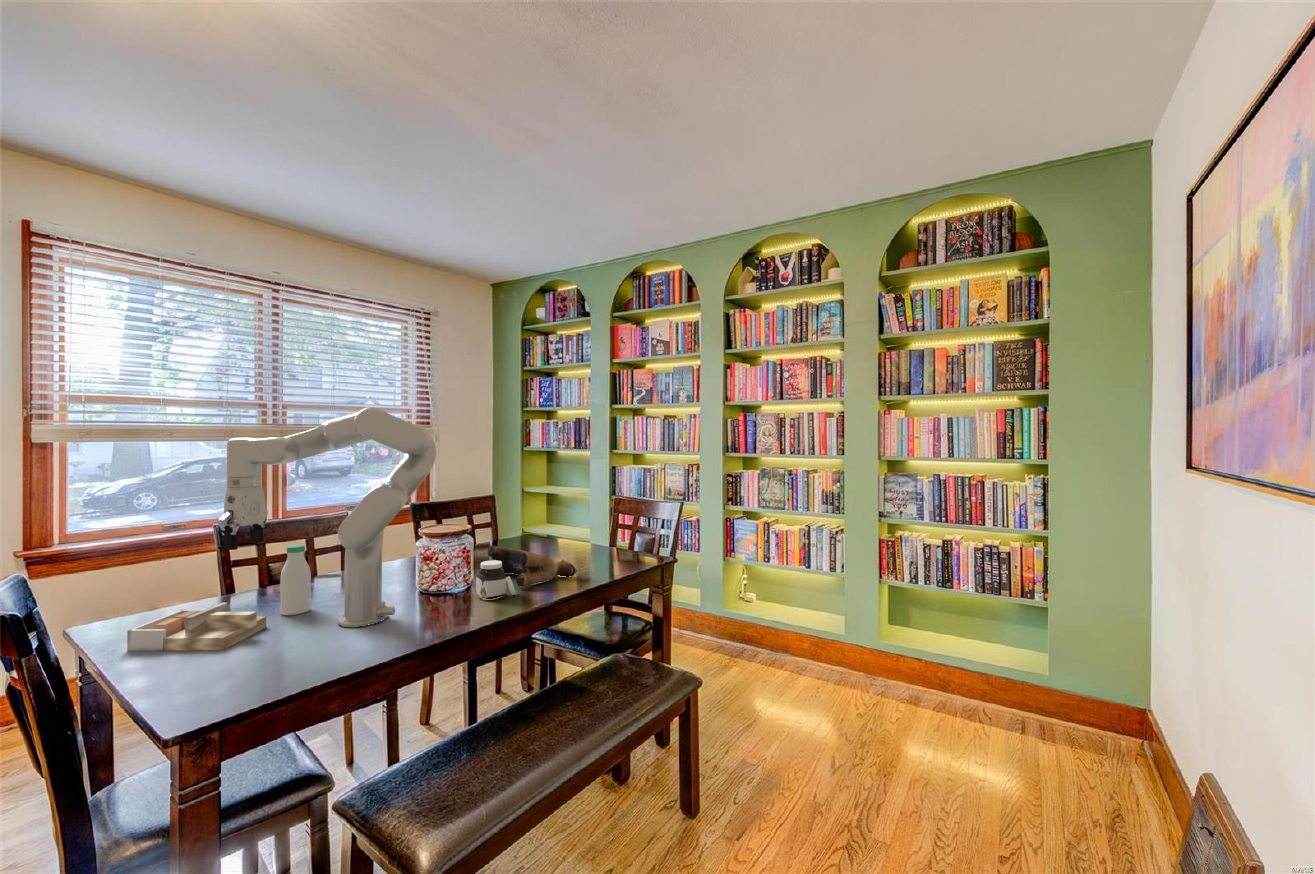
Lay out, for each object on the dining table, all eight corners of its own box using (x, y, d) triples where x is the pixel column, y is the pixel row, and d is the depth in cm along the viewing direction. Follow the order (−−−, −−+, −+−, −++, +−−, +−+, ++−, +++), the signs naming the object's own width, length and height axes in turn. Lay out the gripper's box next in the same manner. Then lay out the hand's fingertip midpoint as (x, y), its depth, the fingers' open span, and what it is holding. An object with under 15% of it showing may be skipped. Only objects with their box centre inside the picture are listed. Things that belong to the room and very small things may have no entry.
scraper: (268, 618, 148) (268, 602, 148) (236, 634, 136) (236, 617, 136) (221, 618, 148) (221, 602, 148) (185, 635, 136) (185, 617, 136)
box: (213, 627, 149) (213, 609, 149) (162, 650, 133) (163, 630, 133) (181, 627, 149) (181, 609, 149) (127, 650, 133) (127, 630, 133)
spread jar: (472, 597, 179) (472, 562, 179) (502, 589, 188) (502, 556, 188) (492, 604, 171) (492, 568, 171) (522, 596, 180) (522, 562, 180)
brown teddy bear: (529, 550, 186) (584, 548, 204) (481, 545, 206) (535, 543, 225) (527, 588, 184) (583, 582, 202) (478, 579, 204) (533, 575, 223)
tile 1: (181, 617, 141) (171, 617, 141) (165, 624, 136) (154, 624, 136) (181, 636, 141) (171, 637, 141) (164, 644, 136) (154, 644, 136)
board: (266, 626, 150) (266, 616, 150) (222, 649, 134) (222, 637, 134) (214, 627, 149) (214, 616, 149) (164, 650, 133) (164, 638, 133)
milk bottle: (316, 609, 165) (316, 544, 165) (290, 617, 158) (290, 549, 158) (300, 606, 168) (300, 542, 168) (274, 613, 161) (274, 547, 161)
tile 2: (199, 610, 147) (190, 610, 147) (184, 616, 142) (174, 616, 142) (199, 628, 147) (190, 628, 147) (184, 635, 142) (174, 635, 142)
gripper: (235, 486, 138) (234, 552, 138) (279, 480, 155) (279, 539, 156) (204, 486, 138) (204, 552, 138) (252, 480, 155) (252, 539, 155)
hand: (244, 545), depth 147 cm, fingers open, 9 cm apart
